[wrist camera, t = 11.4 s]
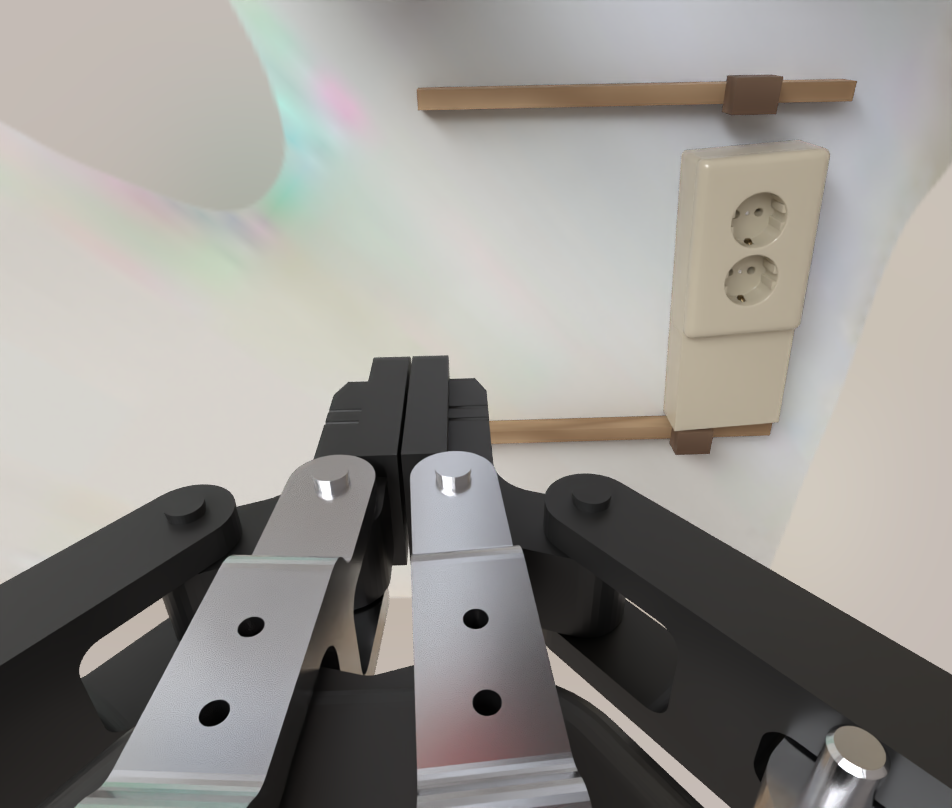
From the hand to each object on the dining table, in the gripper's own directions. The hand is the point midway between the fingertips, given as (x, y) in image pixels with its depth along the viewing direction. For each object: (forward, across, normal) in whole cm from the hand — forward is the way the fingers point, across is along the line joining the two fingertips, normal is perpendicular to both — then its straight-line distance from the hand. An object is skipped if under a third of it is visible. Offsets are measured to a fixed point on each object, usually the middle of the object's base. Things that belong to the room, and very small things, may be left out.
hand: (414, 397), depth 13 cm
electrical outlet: (+30, -18, +9) cm, 36 cm away
